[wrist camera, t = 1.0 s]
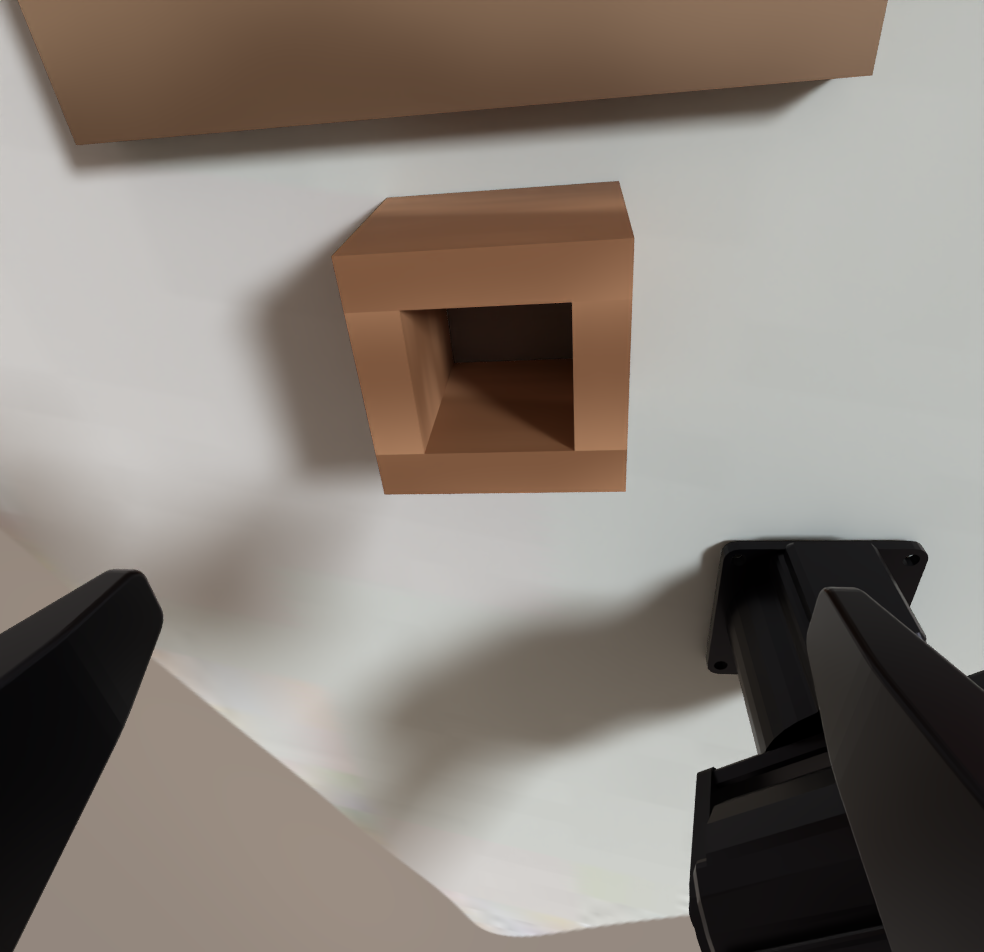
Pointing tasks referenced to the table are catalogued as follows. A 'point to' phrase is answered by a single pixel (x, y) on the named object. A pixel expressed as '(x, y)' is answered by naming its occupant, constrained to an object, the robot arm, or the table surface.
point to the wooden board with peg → (417, 56)
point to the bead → (496, 384)
